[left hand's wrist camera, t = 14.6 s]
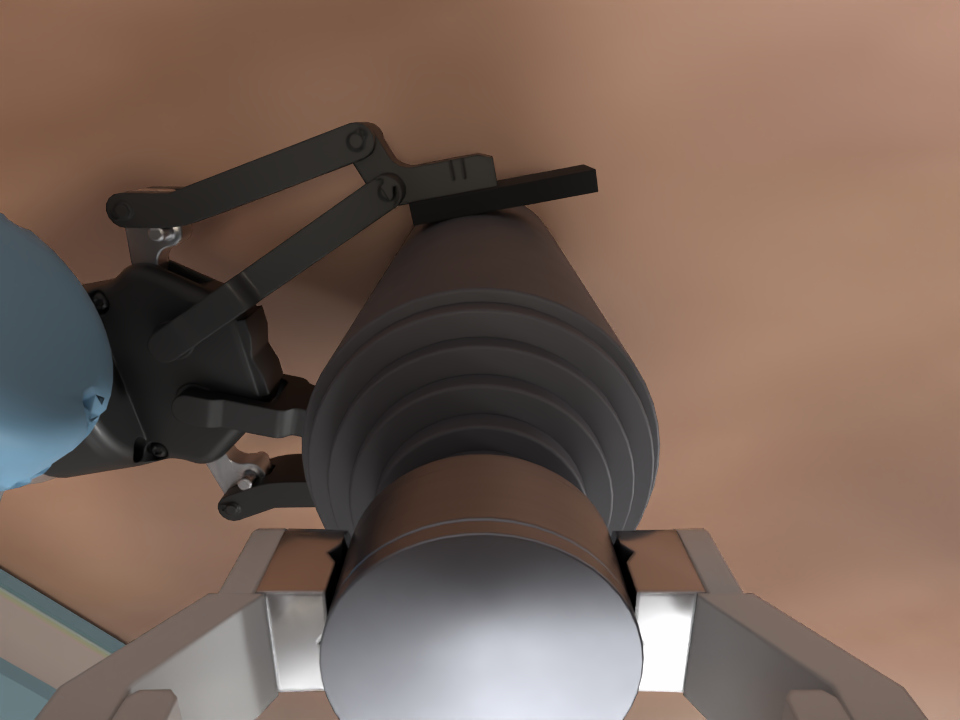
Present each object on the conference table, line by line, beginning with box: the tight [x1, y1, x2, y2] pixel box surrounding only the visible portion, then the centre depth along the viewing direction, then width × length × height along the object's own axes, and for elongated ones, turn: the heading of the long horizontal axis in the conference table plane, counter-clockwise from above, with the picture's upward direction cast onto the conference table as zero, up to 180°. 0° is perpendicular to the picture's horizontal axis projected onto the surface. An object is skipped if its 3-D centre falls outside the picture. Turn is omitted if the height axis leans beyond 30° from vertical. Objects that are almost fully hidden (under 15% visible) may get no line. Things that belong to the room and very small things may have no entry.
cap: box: [319, 454, 644, 720], centre depth 10 cm, size 4×4×2 cm
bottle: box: [302, 206, 660, 538], centre depth 20 cm, size 8×8×24 cm
